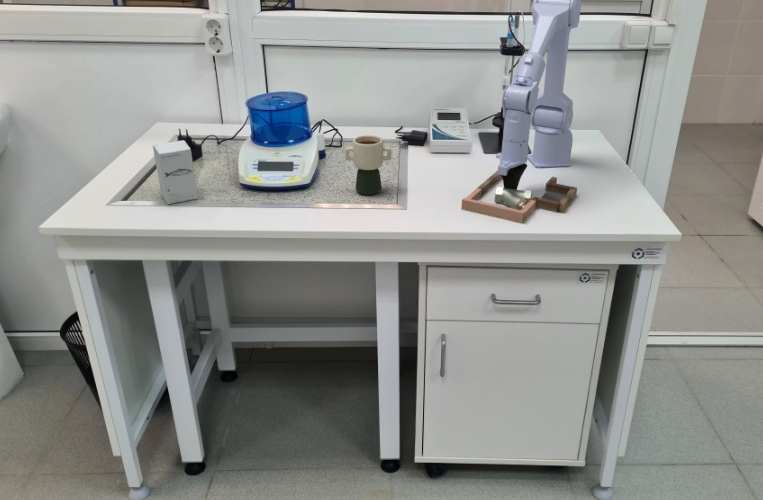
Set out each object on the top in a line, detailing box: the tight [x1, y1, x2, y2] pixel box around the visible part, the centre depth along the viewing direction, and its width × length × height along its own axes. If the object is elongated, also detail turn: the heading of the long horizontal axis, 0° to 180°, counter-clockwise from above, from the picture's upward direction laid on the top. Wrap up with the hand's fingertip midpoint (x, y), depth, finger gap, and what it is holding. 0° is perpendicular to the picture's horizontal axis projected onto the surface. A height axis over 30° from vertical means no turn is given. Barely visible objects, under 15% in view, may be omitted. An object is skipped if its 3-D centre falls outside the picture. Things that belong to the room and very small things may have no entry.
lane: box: [477, 169, 578, 214], centre depth 152 cm, size 16×20×2 cm
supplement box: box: [152, 140, 199, 205], centre depth 148 cm, size 7×7×13 cm
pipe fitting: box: [494, 186, 533, 210], centre depth 145 cm, size 8×4×7 cm
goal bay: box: [460, 187, 536, 224], centre depth 144 cm, size 9×14×2 cm, turn 59°
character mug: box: [344, 134, 392, 195], centre depth 150 cm, size 11×7×13 cm, turn 90°
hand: (510, 193), depth 149 cm, fingers closed
